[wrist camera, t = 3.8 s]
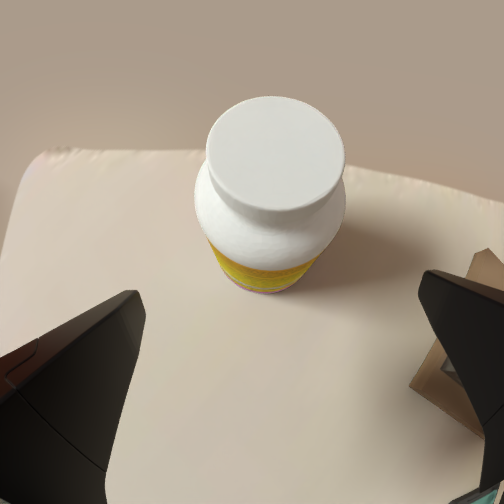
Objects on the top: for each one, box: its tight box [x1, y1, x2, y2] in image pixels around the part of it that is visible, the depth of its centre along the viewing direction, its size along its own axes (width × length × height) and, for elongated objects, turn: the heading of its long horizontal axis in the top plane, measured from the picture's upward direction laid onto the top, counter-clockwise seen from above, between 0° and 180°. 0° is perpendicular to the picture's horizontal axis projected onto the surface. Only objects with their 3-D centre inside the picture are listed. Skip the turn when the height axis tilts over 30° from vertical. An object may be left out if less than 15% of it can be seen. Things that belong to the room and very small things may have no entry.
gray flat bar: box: [440, 356, 463, 388], centre depth 15 cm, size 1×10×4 cm, turn 52°
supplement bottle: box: [194, 96, 346, 294], centre depth 16 cm, size 7×7×13 cm
